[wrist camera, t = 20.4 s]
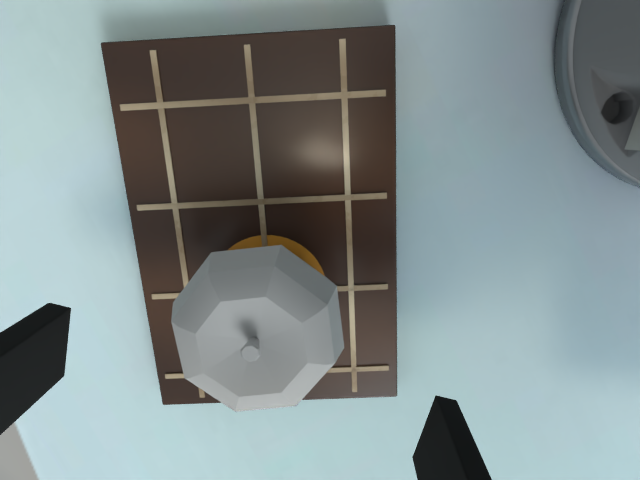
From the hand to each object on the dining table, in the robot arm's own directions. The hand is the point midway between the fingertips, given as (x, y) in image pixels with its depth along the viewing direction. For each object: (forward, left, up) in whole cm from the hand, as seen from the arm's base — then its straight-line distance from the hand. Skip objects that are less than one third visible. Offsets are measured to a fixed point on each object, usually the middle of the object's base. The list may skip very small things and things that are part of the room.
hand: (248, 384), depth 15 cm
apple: (0, 0, -9) cm, 9 cm away
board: (-3, -1, -10) cm, 10 cm away
